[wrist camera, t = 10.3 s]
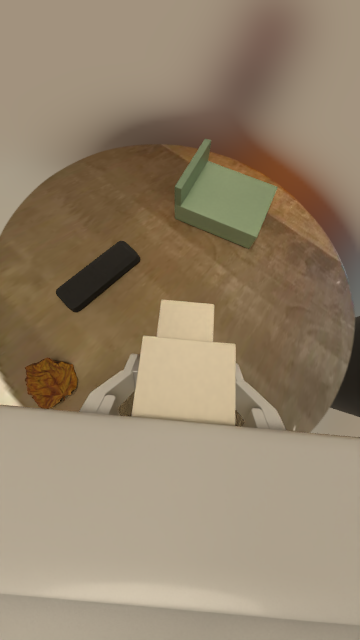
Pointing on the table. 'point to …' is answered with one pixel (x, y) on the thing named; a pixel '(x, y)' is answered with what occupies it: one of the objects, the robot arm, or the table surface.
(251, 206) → the green l-shaped bracket
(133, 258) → the remote control
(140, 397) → the beige stepped block
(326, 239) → the table surface
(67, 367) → the leaf
